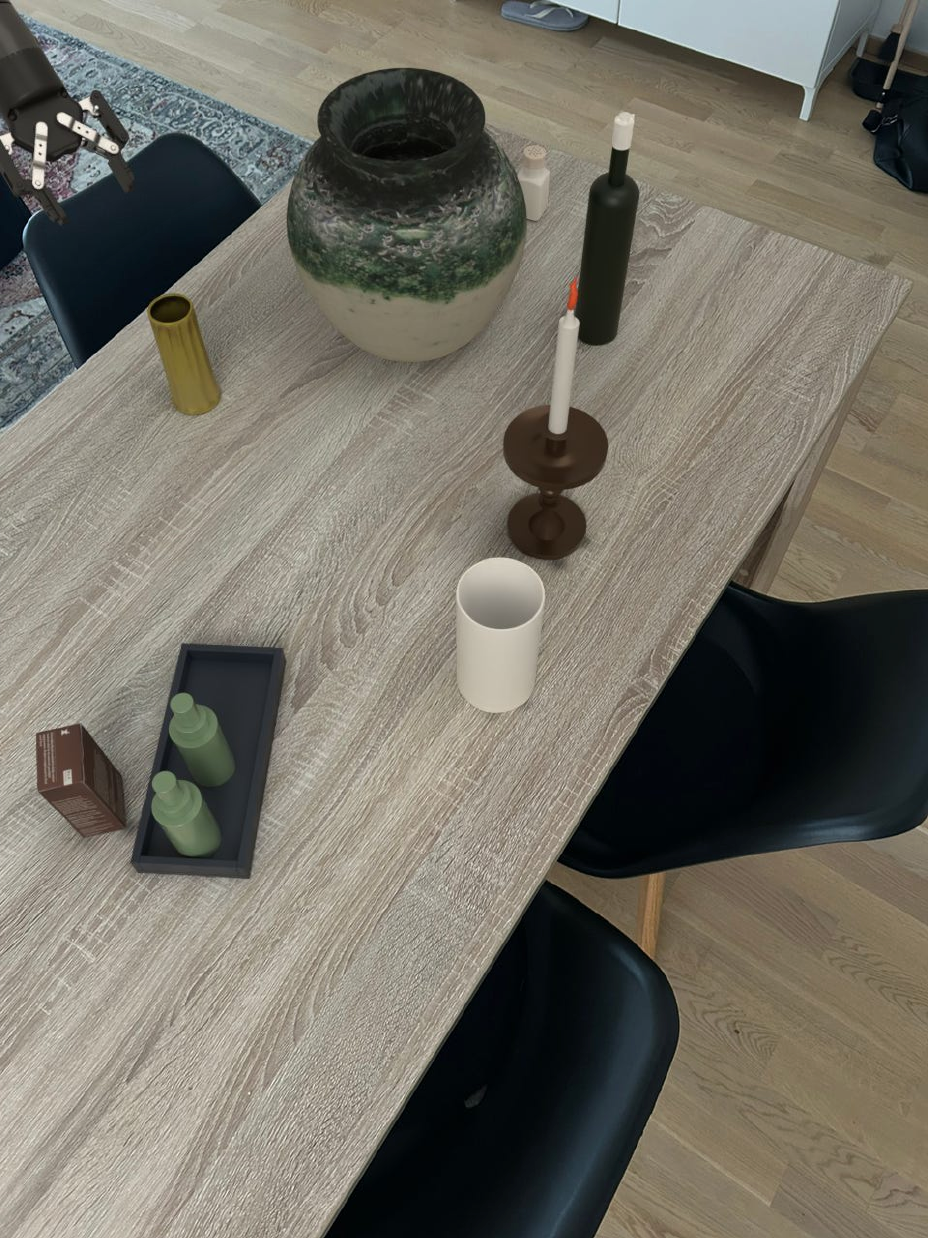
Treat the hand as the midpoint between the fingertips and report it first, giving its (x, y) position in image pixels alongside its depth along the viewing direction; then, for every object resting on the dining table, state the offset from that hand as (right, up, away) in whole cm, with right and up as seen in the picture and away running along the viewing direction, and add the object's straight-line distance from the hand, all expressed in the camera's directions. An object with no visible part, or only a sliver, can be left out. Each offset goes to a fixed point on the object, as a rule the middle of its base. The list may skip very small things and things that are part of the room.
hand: (97, 206), depth 117 cm
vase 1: (+8, -19, +13) cm, 24 cm away
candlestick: (+51, -36, +3) cm, 62 cm away
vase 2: (+35, -8, +20) cm, 41 cm away
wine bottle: (+59, -9, +20) cm, 62 cm away
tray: (+17, -61, -13) cm, 64 cm away
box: (+6, -65, -16) cm, 67 cm away
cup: (+45, -53, -8) cm, 70 cm away
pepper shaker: (+51, +12, +33) cm, 62 cm away
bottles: (+16, -64, -16) cm, 68 cm away
